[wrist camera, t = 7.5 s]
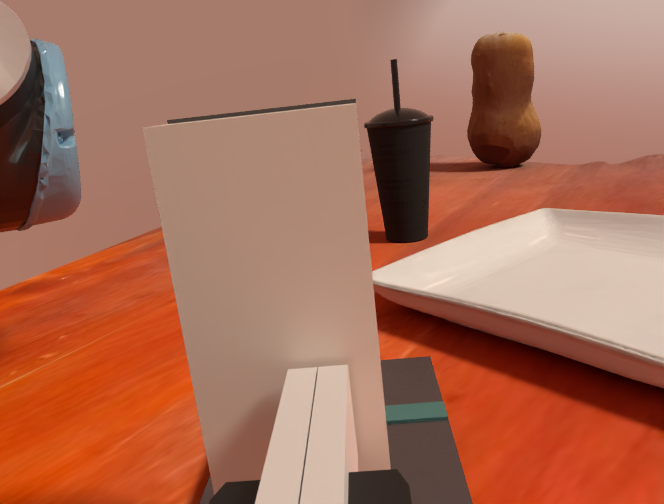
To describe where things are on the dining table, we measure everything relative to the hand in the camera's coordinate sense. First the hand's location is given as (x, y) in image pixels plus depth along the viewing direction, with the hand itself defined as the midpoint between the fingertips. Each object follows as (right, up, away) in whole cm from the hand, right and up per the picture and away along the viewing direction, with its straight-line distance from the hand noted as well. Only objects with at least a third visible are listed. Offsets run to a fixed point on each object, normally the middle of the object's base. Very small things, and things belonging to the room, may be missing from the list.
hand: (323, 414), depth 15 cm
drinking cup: (+9, +6, +51) cm, 52 cm away
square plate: (+21, 0, +28) cm, 35 cm away
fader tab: (0, -6, +4) cm, 8 cm away
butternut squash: (+35, +21, +96) cm, 105 cm away
